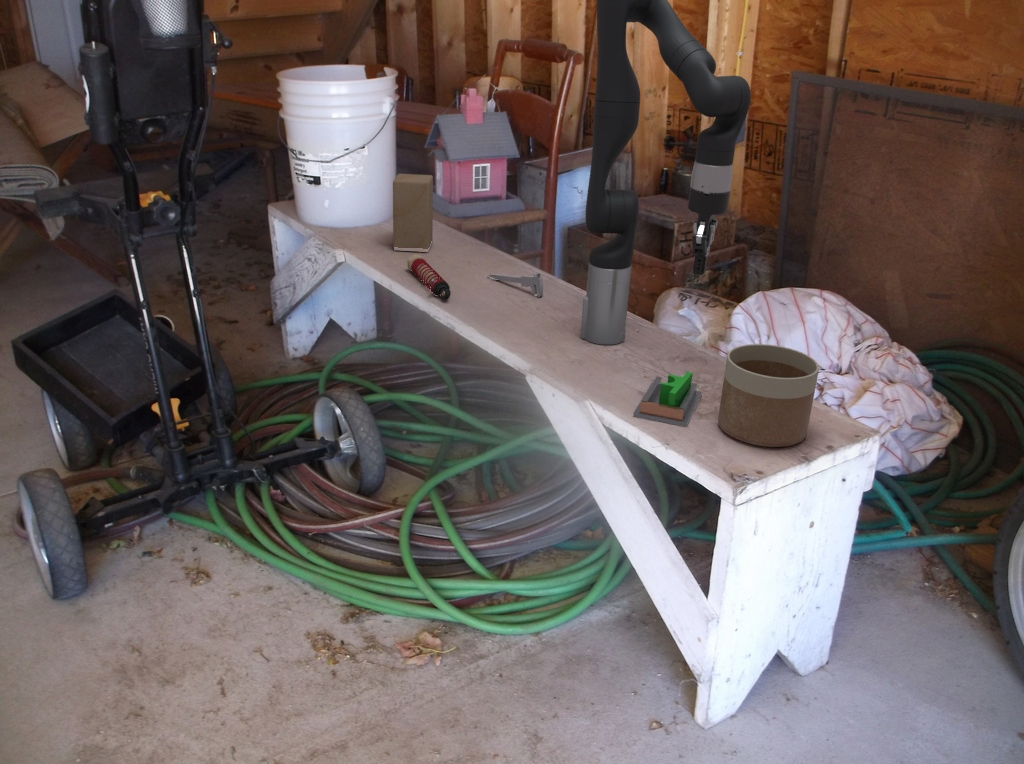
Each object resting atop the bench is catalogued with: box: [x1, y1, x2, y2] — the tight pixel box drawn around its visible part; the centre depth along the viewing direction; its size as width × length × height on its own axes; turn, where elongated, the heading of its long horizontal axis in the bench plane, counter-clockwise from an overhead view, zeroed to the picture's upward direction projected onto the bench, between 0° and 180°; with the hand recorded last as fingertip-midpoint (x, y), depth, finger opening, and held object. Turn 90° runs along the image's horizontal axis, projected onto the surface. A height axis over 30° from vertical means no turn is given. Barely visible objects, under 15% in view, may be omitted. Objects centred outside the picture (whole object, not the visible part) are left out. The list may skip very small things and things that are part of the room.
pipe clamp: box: [659, 371, 694, 408], centre depth 180 cm, size 11×4×5 cm, turn 154°
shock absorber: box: [406, 253, 452, 301], centre depth 241 cm, size 5×5×30 cm
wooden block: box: [392, 173, 434, 249], centre depth 267 cm, size 10×10×20 cm
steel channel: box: [632, 375, 703, 427], centre depth 180 cm, size 10×15×3 cm, turn 159°
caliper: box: [488, 272, 544, 298], centre depth 241 cm, size 20×1×6 cm, turn 42°
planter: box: [717, 343, 820, 448], centre depth 170 cm, size 16×16×14 cm
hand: (698, 273), depth 187 cm, fingers closed
